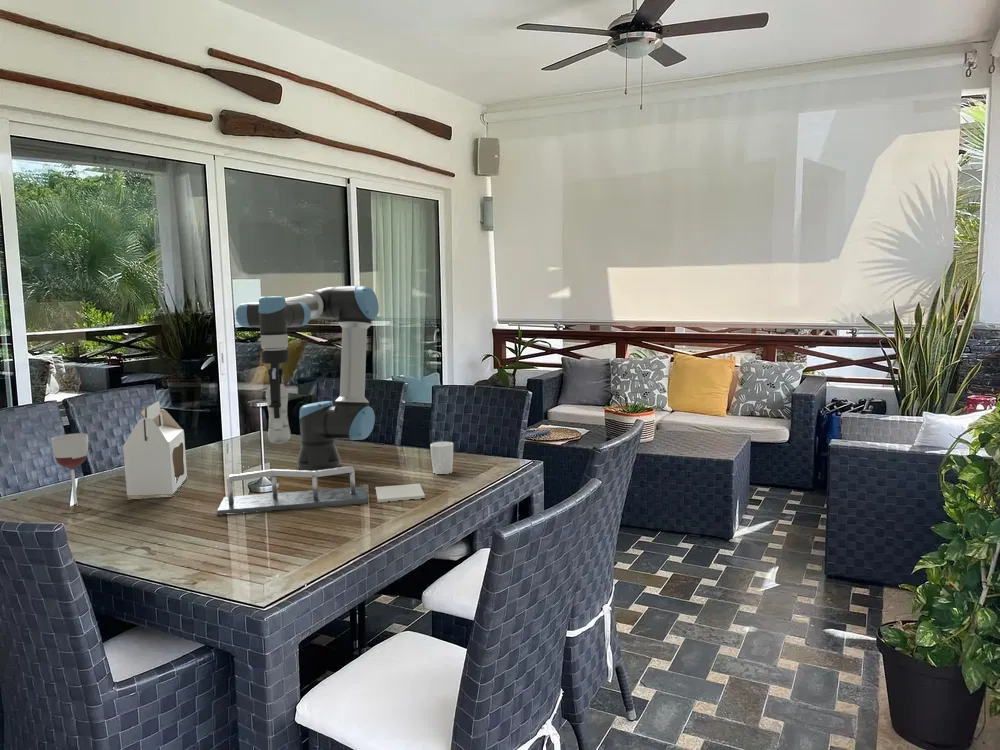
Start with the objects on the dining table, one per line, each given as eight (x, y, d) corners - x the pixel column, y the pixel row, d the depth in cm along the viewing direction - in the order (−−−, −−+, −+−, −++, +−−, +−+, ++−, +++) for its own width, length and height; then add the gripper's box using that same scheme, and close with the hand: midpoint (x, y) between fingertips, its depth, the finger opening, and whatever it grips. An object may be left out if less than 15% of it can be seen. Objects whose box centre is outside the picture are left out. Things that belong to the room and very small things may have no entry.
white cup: (455, 469, 256) (455, 441, 255) (452, 475, 248) (451, 446, 247) (433, 469, 257) (432, 441, 255) (429, 475, 249) (428, 446, 248)
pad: (375, 490, 232) (375, 487, 232) (419, 486, 235) (419, 483, 235) (377, 502, 218) (377, 499, 218) (425, 498, 221) (424, 495, 221)
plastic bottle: (296, 441, 220) (292, 375, 218) (280, 446, 214) (276, 377, 212) (279, 440, 223) (275, 374, 221) (263, 444, 217) (259, 377, 215)
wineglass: (101, 506, 220) (94, 434, 217) (73, 515, 211) (66, 440, 208) (79, 504, 223) (72, 432, 220) (50, 513, 214) (43, 439, 211)
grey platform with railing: (224, 501, 222) (222, 469, 221) (365, 490, 231) (364, 459, 230) (217, 515, 208) (215, 481, 207) (367, 503, 217) (366, 470, 216)
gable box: (145, 482, 247) (139, 400, 244) (187, 479, 250) (181, 398, 246) (127, 501, 225) (119, 410, 222) (173, 497, 228) (166, 408, 225)
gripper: (264, 347, 224) (269, 422, 226) (257, 352, 205) (262, 433, 208) (290, 346, 225) (294, 420, 228) (285, 351, 207) (289, 432, 209)
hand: (278, 426), depth 218 cm, fingers closed on plastic bottle, 6 cm apart
